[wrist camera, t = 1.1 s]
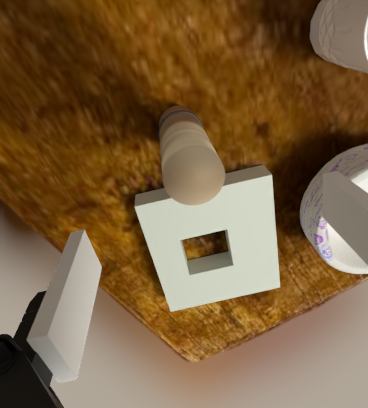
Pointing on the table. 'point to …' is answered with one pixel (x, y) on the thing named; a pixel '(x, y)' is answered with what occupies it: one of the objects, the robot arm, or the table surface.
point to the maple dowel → (188, 158)
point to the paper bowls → (318, 227)
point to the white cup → (341, 33)
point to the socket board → (208, 223)
